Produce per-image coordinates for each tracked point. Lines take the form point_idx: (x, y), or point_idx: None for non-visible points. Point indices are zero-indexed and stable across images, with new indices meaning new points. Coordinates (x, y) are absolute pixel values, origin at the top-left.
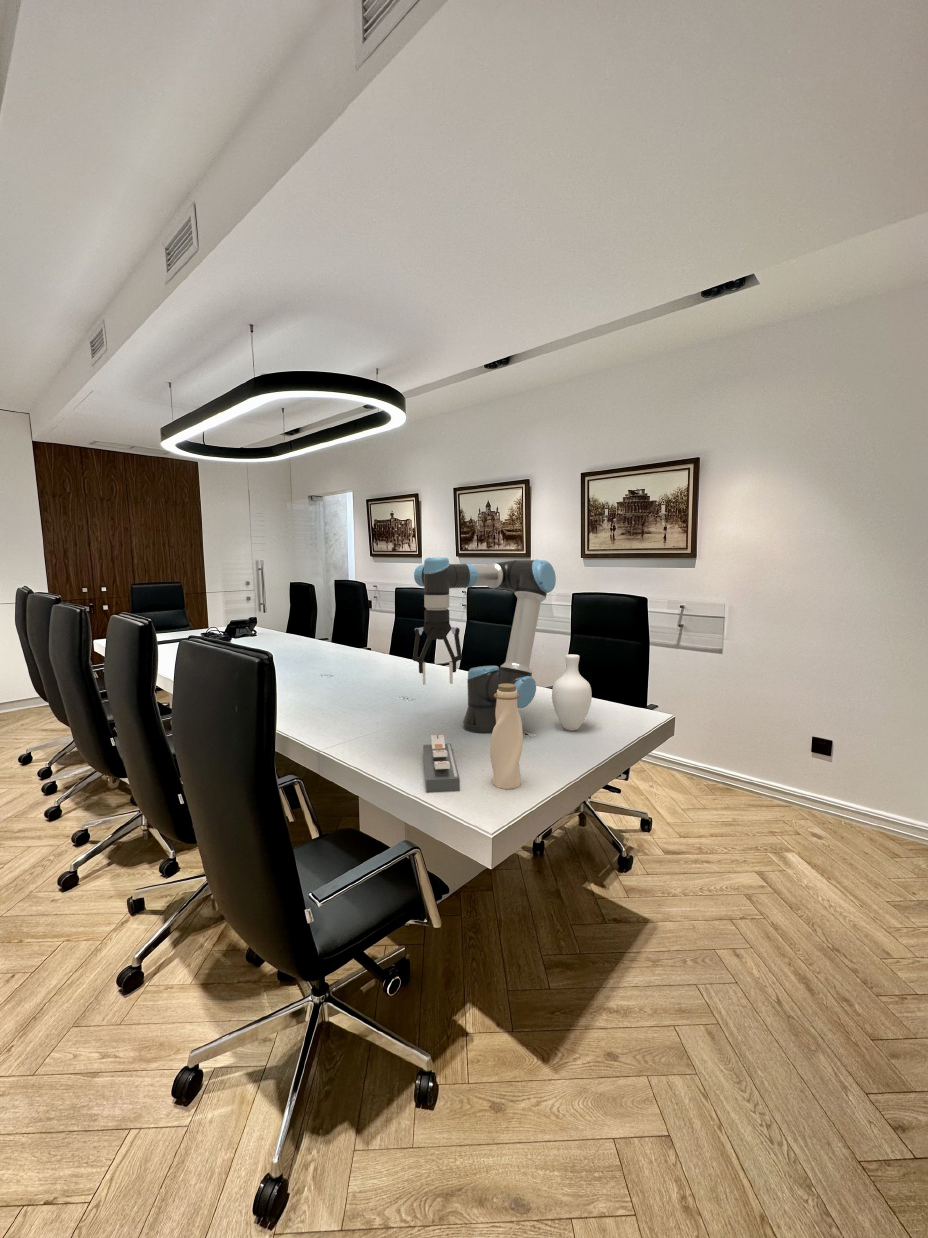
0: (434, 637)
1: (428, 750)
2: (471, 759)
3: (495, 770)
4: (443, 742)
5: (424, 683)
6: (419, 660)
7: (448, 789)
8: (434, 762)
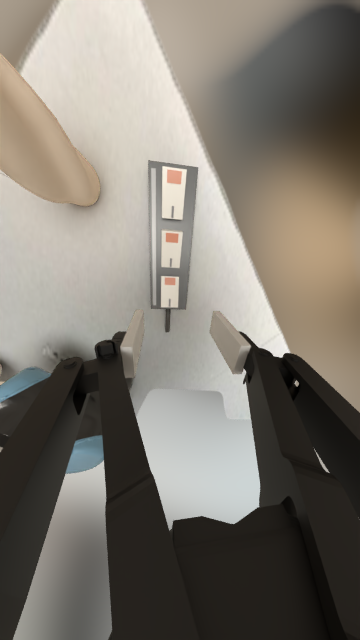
0: (280, 555)
1: (181, 288)
2: (127, 283)
3: (86, 165)
4: (162, 289)
5: (217, 312)
6: (271, 354)
7: None
8: (183, 202)
